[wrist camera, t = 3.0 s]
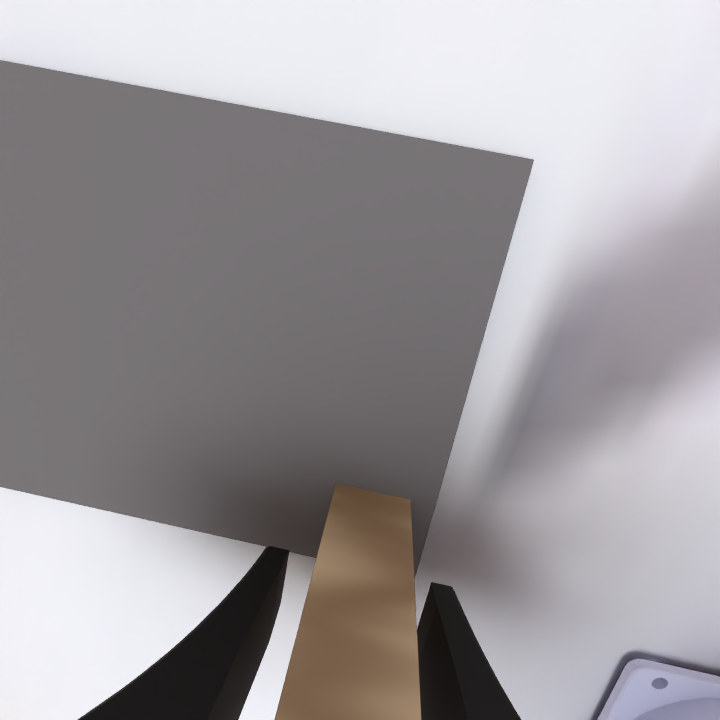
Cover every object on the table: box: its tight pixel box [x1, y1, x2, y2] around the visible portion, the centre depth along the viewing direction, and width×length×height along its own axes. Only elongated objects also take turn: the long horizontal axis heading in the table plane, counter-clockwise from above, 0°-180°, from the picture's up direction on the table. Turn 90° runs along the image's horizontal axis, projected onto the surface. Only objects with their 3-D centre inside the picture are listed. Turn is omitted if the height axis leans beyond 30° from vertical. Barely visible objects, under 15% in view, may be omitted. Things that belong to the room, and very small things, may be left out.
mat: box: [0, 60, 534, 579], centre depth 12 cm, size 16×13×1 cm
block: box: [275, 483, 421, 720], centre depth 10 cm, size 2×5×7 cm, turn 169°
